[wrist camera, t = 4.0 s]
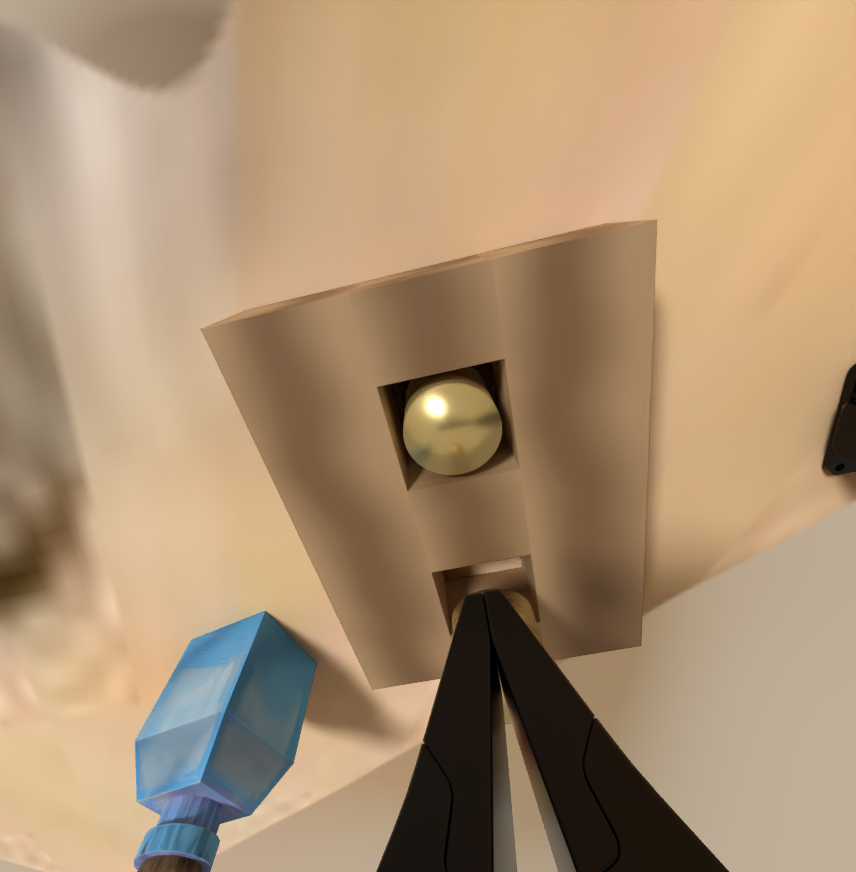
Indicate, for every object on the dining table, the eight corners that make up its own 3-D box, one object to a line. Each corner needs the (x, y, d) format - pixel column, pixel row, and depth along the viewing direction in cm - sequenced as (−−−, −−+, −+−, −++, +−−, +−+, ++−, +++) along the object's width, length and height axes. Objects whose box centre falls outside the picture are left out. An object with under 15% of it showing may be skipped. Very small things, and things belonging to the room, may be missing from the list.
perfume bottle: (247, 687, 30) (153, 937, 19) (191, 639, 27) (47, 897, 17) (317, 662, 29) (258, 913, 18) (265, 610, 26) (162, 866, 16)
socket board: (604, 223, 17) (657, 219, 13) (610, 590, 26) (641, 645, 23) (244, 310, 18) (200, 329, 14) (377, 630, 27) (372, 689, 24)
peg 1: (480, 350, 18) (494, 375, 15) (492, 426, 20) (507, 464, 17) (396, 369, 19) (392, 398, 15) (415, 442, 20) (415, 483, 17)
